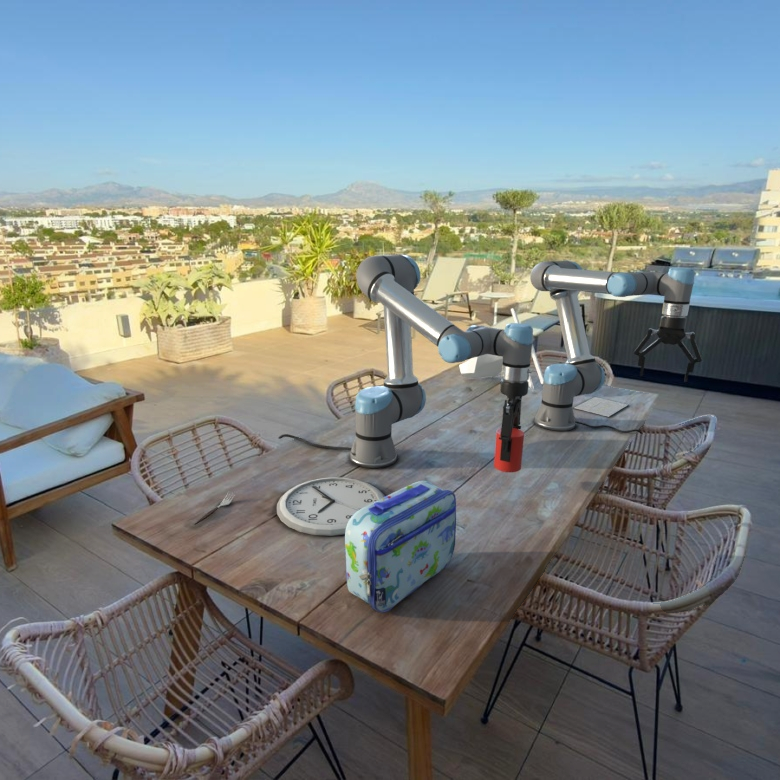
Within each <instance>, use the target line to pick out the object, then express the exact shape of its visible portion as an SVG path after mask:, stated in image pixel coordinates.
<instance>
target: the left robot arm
mask: <svg viewBox="0 0 780 780" xmlns="http://www.w3.org/2000/svg"><path fill="white" fill-rule="evenodd" d="M355 277H356V283H357V285H358V289H360V291H361V293H362V294H364V296H366V298H367V299H369V300H370V301H372V302H373V303H375V304H381V305H383V319H384V320H383V321H384V335H385V336H384V337H385V351H386V371H387V376H386V377H385V378H384V379H383V385H375V386H368V387H365V388H363V389H360V390H359V391H358V392H357V394H356V395H355V404H354V412H355V437H354V441H353V443H352V447H349V446H333V445H324V444H318V443H313V442H310V441H307V440H306V439H304V438H302V437H300V438H299V436H296V435H292V434H288V433H284V434H281V435H279V436H278V439H279V440H281V439H282V438H290V439H294V440H298V441H300V442H302V443H304V444H306V445H308V446H311V447H315V448H320V449H327V450H340V451H350V452H349V460H350V462H351V463H352V464H353V465H355V466H357V467H361V468H366V469H381V468H386V467H389V466H392V465H393V464H394V463H396V462H397V459H398V458H397V457H398V455H397V450H396V447H395V443H394V441H393V438H392V432H393V431H392V425H393V424H396V423H399V422H401V421H405V420H407V419H411V418H413V417H415V416H416V415H418V414H420V413H421V412H422V411H423V409H424V408H425V405H426V401H427V397H426V396H427V395H426V391H425V389H424V388H423V386H422V385H421V383H419V378H418V377H417V376H415V374H414V360H413V359H414V358H413V342H412V339H413V338H412V329H414V330H415V331H417V332H418V333H419V334H420V335H422V336H423V337H424V338H426V339H427V340H428V341H429V342H431V343H432V344H433V345H435V346H436V347H437V351H438V354H439V356H440V357H441V359H442V360H443V361H444V362H446V363H447V364H455V363H458V364H459V363H464V362H466V361H469V359H471V358H474V357H478V356H481V355H485V354H490V355H496V356H502V357H503V363H502V372H500V373H501V375H500V376H501V377H500V378H501V380H500V387H499V388H500V389H499V391H500V393H501V394H503V395H505V396H506V399H505V400H504V404H503V406H502V408H503V409H502V420H501V427H500V428H501V436H500V437H499V439H500V440H502V442H501V454H500V460H501V461H506V462H510V456H511V445H512V440H511V436H512V430H513V428H516V429H519V430H521V429H522V425H521V415H522V414H521V412H522V399H523V397H524V396H527V395H528V393H529V385H528V384H529V382H528V381H527V380H528V379H529V373H530V374H532V373H533V370H532V369H530V368H531V359H532V355H531V351H532V344H533V345H534V328H533V327H532V325H530V324H529V323H528V324H527V323H521V322H519V323H515V322H511V323H507V324H506V325H505V327H504V328H503V329H502V328H497V327H491V326H490V327H489V326H485V325H473V324H472V325H470V326H469V327H468V328H467V329H466V330H462V329H461V328H460V327H458V326H457V325H455V324H454V323H452V322H451V321H450V320H449V319H447V318H446V317H445V316H443V315H442V314H440V313H439V312H438V311H436V310H435V309H433V308H432V307H431V306H430V305H428V304H427V303H425V302H424V301H423V300H421V299H420V298H418V297H417V296H416V295H415V290H416V289H417V288H418V286H419V285H420V283H421V270H420V266H419V264H418V263H417V261H415V260H414V258H412V257H411V256H409V255H406V254H397V253H396V254H385V255H383V254H382V255H378V254H377V255H371V256H367V258H365V259H363V260H362V261H361V262H360V264H359V265H358V267H357V270H356V274H355Z"/></svg>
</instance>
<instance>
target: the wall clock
mask: <svg viewBox="0 0 780 780" xmlns="http://www.w3.org/2000/svg"><path fill="white" fill-rule="evenodd" d="M384 497H386V495H385V494H384V493H383V492H382V491H381V490H380V489H379V488H377V487H376V486H374V485H372V484H371V483H369V482H365V481H362V480H359V479H355V478H349V477H338V476H337V477H335V476H333V477H332V476H331V477H322V478H317V479H312V480H307V481H305V482H302V483H299V484H297V485H295V486H293V487H292V488H290V489H288V490H287V491H286V492H285V493H284V494H283V495H281V496H280V498H279V499H278V502H277V503H276V515H277V517H278V518H279V520H280V521H281V522H282V523H283V524H285V525H286V526H287V527H288V528H290V529H293V530H295V531H297V532H299V533H303V534H308V535H312V536H327V537H328V536H329V537H331V536H332V537H333V536H342V535H345V531H346V527H347V524H348V522H349V520H350V518H351V517H352V515H353V514H354V513H355V512H357V511H358V510H360V509H362V508H364V507H366V506H368V505H370V504H372V503H374V502H376V501H378V500H380V499H382V498H384Z"/></svg>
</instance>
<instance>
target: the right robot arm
mask: <svg viewBox="0 0 780 780" xmlns="http://www.w3.org/2000/svg"><path fill="white" fill-rule="evenodd" d="M695 275H696V271H695V269H693V268H690V267H670V268H669V270H668V272H659V271H650V270H638V271H636V272H624V271H623V272H622V271H609V270H608V271H606V270H605V271H604V270H594V269H582V266H581V265H580V264H578V263H577V262H576V261H573V260H566V259H565V260H545V261H540V262H539V263H537V264H535V266H533V268H532V270H531V272H530V277H529V279H530V283H531V285H532V286H533V287H534V289H536V290H537V291H540V292H548V293H549V296H550V299H551V300H553V301H555V307H556V311H557V315H558V320H559V325H560V329H561V334H562V339H563V343H564V349H565V353H566V358H567V359H566V361H565V363H554V364H550V365H548V366H547V367H546V368H545V370H544V373H543V376H544V378H543V379H544V381H543V386H542V392H541V402H540V405H539V407H538V410H537V411H536V413H535V416H534V424H535V425H536V426H537V427H539V428H542V429H544V430H549V431H556V432H567V431H572V430H574V429H575V428H576V424H578V425H581V426H584V427H587V428H590V429H591V428H592V429H600V428H607V429H611V430H613V431H616V432H618V433H622V434H628V433H629V434H630V433H634V432H637V433H639V434H640V435H643V434H644V433H643V432H642V431H641V430H640V429H636V428H635V429H629V430H622V429H619V428H616V427H614V426H611V425H607V424H602V425H601V424H600V425H590V424H587V423H585V422H581V421H579V420H578V421H577V420H576V418H575V417H576V416H575V413H574V407H573V405H574V398H575V397H579V396H584V395H585V396H586V395H591V394H593V393H596V392H598V391H599V390H600V389H602V387H603V386H604V384H605V381H606V373H605V370H604V368H603V366H601V365H600V364H598V363H597V361H596V357H595V356H593V355H592V354H591V353H590V348H589V344H588V343H589V342H588V339H587V334H586V329H585V324H584V320H583V319H584V318H583V314H582V310H581V305H580V301H579V294H580V293H581V292H585V293H592V294H593V293H594V294H602V295H611V296H612V297H616V298H617V297H618V298H627V297H634V296H647V295H648V296H649V295H651V296H660V297H664V298H663V304H662V309H661V314H662V316H660V320H659V321H660V322H659V326H658V329H653V328H652V327H650V328H648V330H647V332H646V333H647V334H646V335H645V337H644V338H643V339H642V341H640V343H639V344H638V346H637V347H636V348H635V350H634V351H633V354H634V355H636V356H637V357H638V360H637V366H639V367H640V371H639V377H642V376H644V368H645V364H646V355H647V354H648V353H649V352H651V351H652V350H653V349H654V348H656V347H657V346H658V345H659V344H661V343H662V344H664V345H672V346H674V345H678V347H679V348H680V349H681V351H682V352H683V353H684V355H685V356H686V357H687V359H688V360H689V361H687V365H686V371H685V375H684V381H683V382H684V383H688V378H689V374H690V373H693V372H694V368H695V364H696V363H701V362H702V361H703V359H702V355H701V353H700V350H699V347H698V345H697V342H696V339H695V338H696V337H695V336H696V333H695V332H694V331H691V332H686V325H687V321H688V318H687V316H689V309H690V303H691V296H692V291H693V288H694V284H695ZM654 335H657V337H658V338H657V339H656V340H655V341H653V342H652V343H651V344H649V345H648V346H647V347H646V348H644V346H645V344H646V343H647V342H648V341H649V340H650V338H651V337H653V336H654ZM685 337H686V338H687V340H689V341H690V344H691V347H692V350H693V352H694V355H695V357H694V356H693V354H692V353H691V352H690V350H689V349H688V347H687V346H686V345H685V344H684V342H683V339H684V338H685ZM643 348H644V349H643ZM642 349H643V350H642ZM641 350H642V351H641Z"/></svg>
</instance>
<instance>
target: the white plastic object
mask: <svg viewBox="0 0 780 780" xmlns="http://www.w3.org/2000/svg"><path fill="white" fill-rule="evenodd" d="M510 312H511V316H512V319H513V321H514V322H513V323H520V321H519V318H518V314H517V312H516V311H515V309H514V307H512V308H510ZM531 359H532V360H533V364H534V367H535V370H536V373H537V375H538V379H539V382H540V384H541V386H542V387H543V381H544V379H543V378H544V373H543V371H542V368H541V367H542V366H541V364H540V362H539V359H538V356H537V353H536V350H535V347H534V343H533V344H532V351H531ZM502 363H503V357H502V356H496V355H490V354H485V355H481V356H478V357H474V358H471V359H468V360H466V361H464V362H462V363H460V364H459V365H458V367H459V371H460V374H461V376H462V377H463V379H464V380H469V379H479V378H487V377H491V378H492V379H493V378H496V377H498V376H501V373H502ZM527 381H528V382H529V384H528V387H529V388H530V389H531V391H532V392H533V393H535V386H534V382H533V380H532V376H531V373H529V379H528V380H527Z"/></svg>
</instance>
